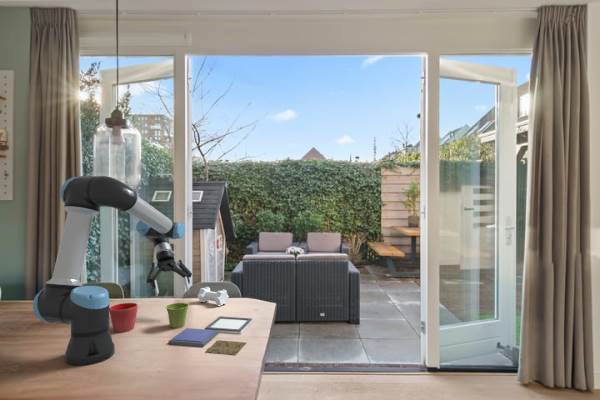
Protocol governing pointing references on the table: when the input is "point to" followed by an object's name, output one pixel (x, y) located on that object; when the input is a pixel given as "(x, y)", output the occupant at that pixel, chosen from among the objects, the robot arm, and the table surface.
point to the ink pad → (194, 337)
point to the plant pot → (177, 314)
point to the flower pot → (123, 316)
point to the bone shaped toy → (213, 296)
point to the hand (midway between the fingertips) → (173, 292)
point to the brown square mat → (225, 347)
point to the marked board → (230, 324)
